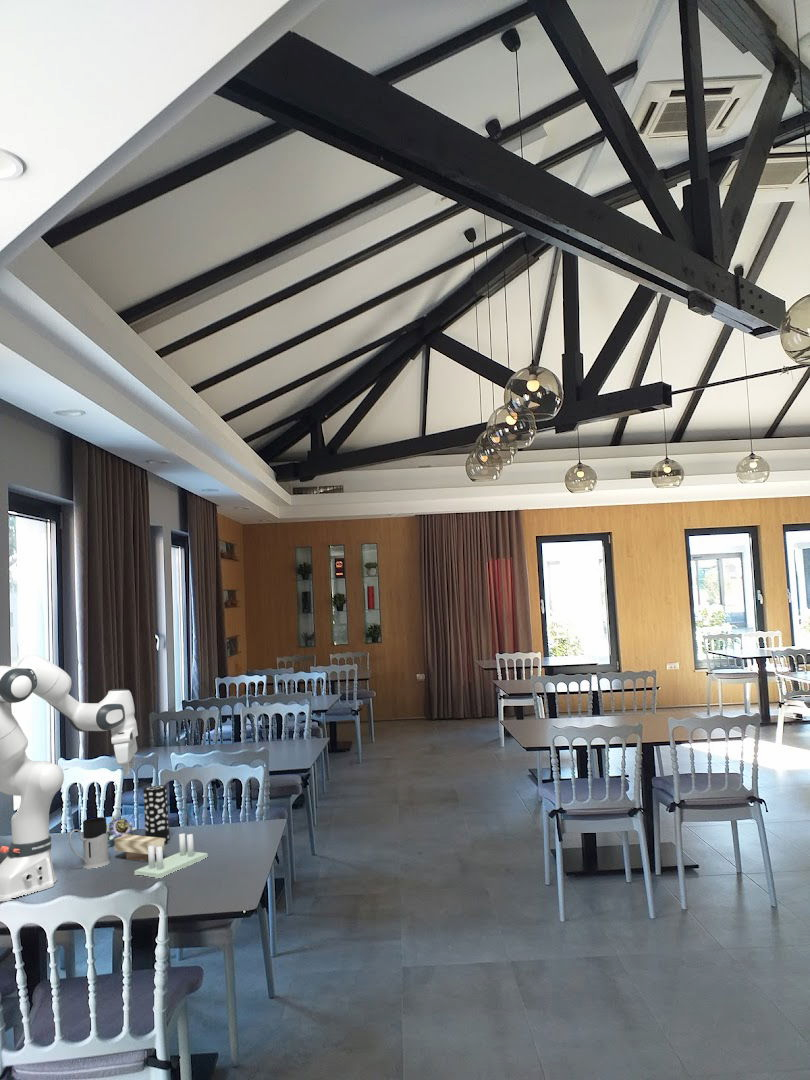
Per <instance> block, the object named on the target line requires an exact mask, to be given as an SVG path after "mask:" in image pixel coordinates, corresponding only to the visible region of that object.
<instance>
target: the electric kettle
mask: <svg viewBox="0 0 810 1080" xmlns="http://www.w3.org/2000/svg"><path fill="white" fill-rule="evenodd" d="M106 824H107V817H105V816H101V817H99V816H98V817H93V818H92V817H91V818H88V819H84V820H83V821H82V828H83V829H82V831H83V834H82V832H81V830H79V829H73V830H71V831H70V833H69V836H68V842H69V847H70V849H71V851H72V852H73V854H75V855H76V856H77V857H79V858H80V859H82V860H83V866H82V868H83V869H84V868H86V869H85V870H92V869H91V868H96V869H99V868H98V867H101V868H103V867H102V866H104V867H106V866H105V865H107V866H108V864H109V863H110V864H111V860H109V840H108V837H109V835H108V833H107V827H108V826H106ZM74 832H78V834H79V839H80V841H82V843H83V846H82V847H83V856H81V855H80V854H78V852H76V851H75V849H74V848H73V844H72V838H71V837H72V834H73V833H74ZM82 835H83V837H82ZM110 864H109V865H110Z"/></svg>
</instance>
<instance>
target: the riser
mask: <svg viewBox="0 0 810 1080" xmlns="http://www.w3.org/2000/svg"><path fill="white" fill-rule="evenodd" d="M125 856H126V860H131V861H137V860H143V861H142V862H145V861H148V854H141V853H132V852H125ZM148 862H149V861H148Z"/></svg>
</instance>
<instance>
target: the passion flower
mask: <svg viewBox="0 0 810 1080" xmlns="http://www.w3.org/2000/svg"><path fill="white" fill-rule="evenodd" d="M132 825H133V822H129V821H128V819H126V817H125V816H124V817H123V818H120V817H118V818H117V817H116V816H115V815H114V816H113V817H112V820H111V821H110V822H109V823H106V826H107V835H108V841H111V842H113V841H114V842H115V840H114V839H115V838H118V837H121V836H124V835H134V832H133V831H135V830H136V827H135V826H132Z"/></svg>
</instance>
